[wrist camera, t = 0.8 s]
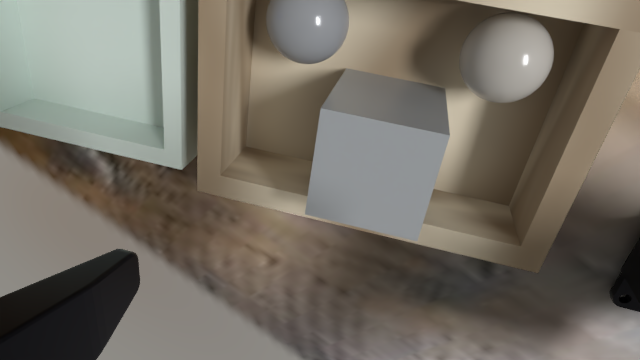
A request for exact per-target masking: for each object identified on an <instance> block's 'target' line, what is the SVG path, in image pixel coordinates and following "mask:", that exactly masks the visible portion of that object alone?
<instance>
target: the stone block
mask: <svg viewBox="0 0 640 360" xmlns="http://www.w3.org/2000/svg"><path fill="white" fill-rule="evenodd" d="M449 137H450V131H449V121H448V111H447V101H446V91H445V88H443V87H438V86H433V85H428V84H423V83H418V82H413V81H408V80H403V79H398V78H393V77H388V76H383V75H378V74H373V73H368V72H363V71H358V70H353V69H348V68H346V70H345V71H344V73H343V74H342V76H341V77H340V79H339V80H338V82H337V84H336V85H335V87H334V88H333V90H332V91H331V93H330V94H329V96H328V98H327V99H326V101H325V102H324V104H323V105H322V107H321V110H320V116H319V123H318V130H317V136H316V143H315V150H314V156H313V163H312V170H311V176H310V183H309V190H308V196H307V203H306V210H305V214H306V215H310V216H314V217H318V218H322V219H327V220H331V221H335V222H339V223H343V224H347V225H351V226H356V227H360V228H364V229H368V230H372V231H376V232H380V233H385V234H389V235H393V236H397V237H401V238H405V239H409V240H414V241H418V237H419V234H420V231H421V228H422V224H423V221H424V218H425V215H426V211H427V208H428V205H429V202H430V199H431V195H432V192H433V189H434V186H435V182H436V179H437V176H438V173H439V169H440V166H441V163H442V160H443V157H444V153H445V150H446V147H447V144H448V140H449Z"/></svg>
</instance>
